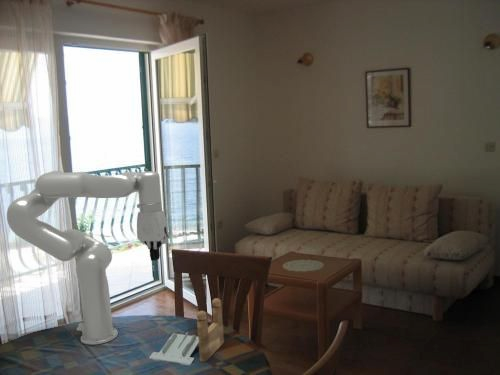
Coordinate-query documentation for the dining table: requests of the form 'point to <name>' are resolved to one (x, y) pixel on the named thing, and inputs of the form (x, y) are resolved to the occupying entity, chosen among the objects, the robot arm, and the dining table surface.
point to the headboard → (210, 331)
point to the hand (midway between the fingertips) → (155, 259)
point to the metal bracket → (177, 349)
